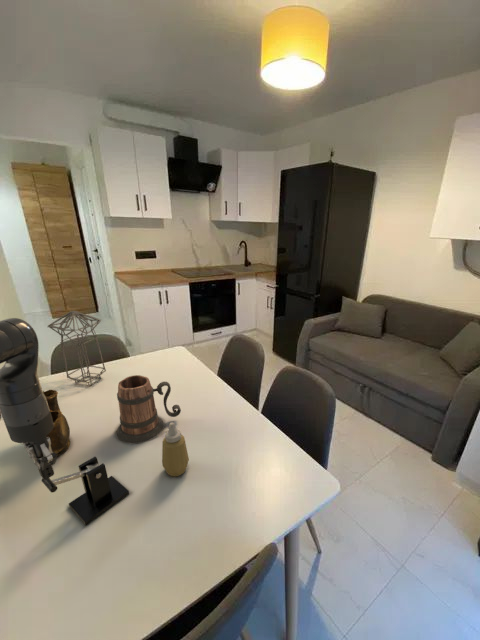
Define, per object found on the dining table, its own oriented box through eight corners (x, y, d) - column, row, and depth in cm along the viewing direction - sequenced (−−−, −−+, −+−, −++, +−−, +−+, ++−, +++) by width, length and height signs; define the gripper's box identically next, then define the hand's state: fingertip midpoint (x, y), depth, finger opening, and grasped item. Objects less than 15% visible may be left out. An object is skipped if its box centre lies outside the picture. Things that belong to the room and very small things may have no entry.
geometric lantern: (113, 376, 144) (101, 308, 130) (89, 392, 130) (73, 317, 116) (86, 372, 147) (72, 304, 133) (60, 387, 133) (40, 313, 119)
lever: (49, 495, 66) (51, 486, 66) (40, 484, 69) (42, 475, 68) (102, 477, 76) (104, 469, 76) (92, 468, 79) (94, 460, 79)
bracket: (86, 525, 74) (75, 489, 69) (69, 506, 79) (58, 471, 73) (129, 493, 83) (122, 459, 78) (112, 478, 88) (105, 445, 83)
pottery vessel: (78, 464, 92) (64, 412, 84) (35, 480, 86) (16, 425, 78) (68, 423, 110) (56, 377, 102) (33, 433, 104) (17, 385, 96)
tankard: (116, 448, 99) (106, 398, 91) (116, 420, 113) (107, 375, 105) (185, 431, 109) (181, 385, 101) (177, 407, 123) (173, 365, 115)
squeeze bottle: (190, 459, 96) (187, 414, 89) (188, 478, 89) (185, 431, 82) (165, 461, 95) (159, 416, 88) (161, 481, 88) (155, 433, 80)
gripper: (-7, 410, 61) (17, 472, 68) (17, 436, 54) (41, 502, 61) (35, 395, 67) (53, 454, 73) (61, 417, 60) (79, 479, 67)
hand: (48, 475), depth 67 cm, fingers closed
